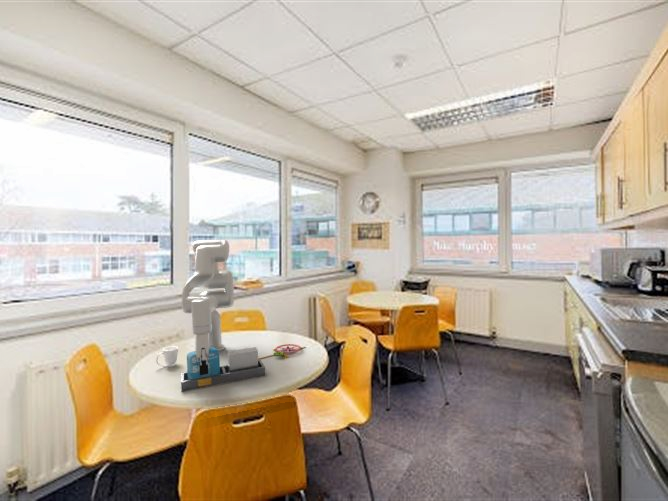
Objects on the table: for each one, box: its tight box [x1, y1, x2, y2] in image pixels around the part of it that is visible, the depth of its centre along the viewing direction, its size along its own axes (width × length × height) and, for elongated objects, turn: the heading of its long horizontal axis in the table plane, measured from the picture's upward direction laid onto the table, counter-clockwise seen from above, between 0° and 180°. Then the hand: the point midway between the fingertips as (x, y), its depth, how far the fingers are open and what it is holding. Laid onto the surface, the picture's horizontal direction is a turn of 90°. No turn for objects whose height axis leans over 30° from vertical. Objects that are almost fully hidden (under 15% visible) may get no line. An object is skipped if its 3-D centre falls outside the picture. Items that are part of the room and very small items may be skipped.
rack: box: [180, 346, 267, 392], centre depth 144 cm, size 11×33×11 cm, turn 114°
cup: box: [155, 345, 179, 368], centre depth 160 cm, size 7×10×8 cm
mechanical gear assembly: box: [258, 343, 307, 360], centre depth 174 cm, size 30×4×15 cm
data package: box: [186, 347, 221, 380], centre depth 141 cm, size 12×4×12 cm, turn 128°
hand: (203, 371), depth 141 cm, fingers closed on data package, 5 cm apart
